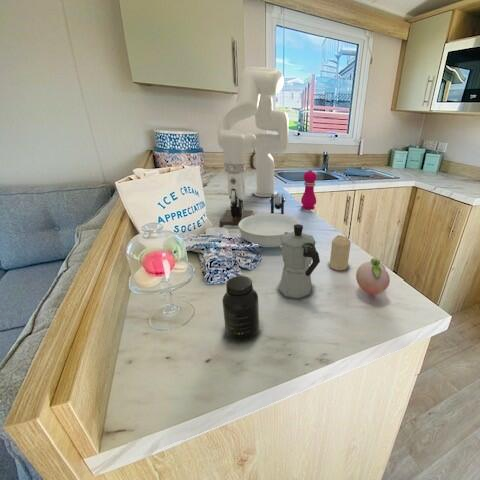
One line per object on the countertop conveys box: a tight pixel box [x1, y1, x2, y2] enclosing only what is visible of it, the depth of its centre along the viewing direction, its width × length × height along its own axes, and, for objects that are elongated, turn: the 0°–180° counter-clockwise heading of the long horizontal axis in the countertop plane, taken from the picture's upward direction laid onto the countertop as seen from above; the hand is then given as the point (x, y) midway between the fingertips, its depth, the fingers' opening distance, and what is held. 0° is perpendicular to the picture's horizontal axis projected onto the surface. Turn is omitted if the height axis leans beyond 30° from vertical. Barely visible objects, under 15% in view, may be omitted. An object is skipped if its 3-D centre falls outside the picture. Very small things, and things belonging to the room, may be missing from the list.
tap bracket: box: [269, 194, 286, 215], centre depth 111 cm, size 12×9×12 cm
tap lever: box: [274, 195, 281, 210], centre depth 114 cm, size 13×3×3 cm, turn 6°
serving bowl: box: [237, 212, 301, 248], centre depth 96 cm, size 21×21×7 cm
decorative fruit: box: [355, 257, 391, 295], centre depth 71 cm, size 9×8×10 cm
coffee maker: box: [278, 223, 321, 300], centre depth 68 cm, size 15×9×18 cm, turn 36°
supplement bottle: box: [222, 275, 260, 342], centre depth 55 cm, size 7×7×12 cm
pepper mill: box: [300, 167, 318, 211], centre depth 128 cm, size 7×7×20 cm
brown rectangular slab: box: [219, 209, 254, 228], centre depth 111 cm, size 14×11×3 cm
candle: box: [329, 234, 351, 271], centre depth 83 cm, size 6×6×10 cm
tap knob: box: [233, 201, 243, 217], centre depth 110 cm, size 4×4×6 cm
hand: (237, 212), depth 110 cm, fingers open, 7 cm apart
